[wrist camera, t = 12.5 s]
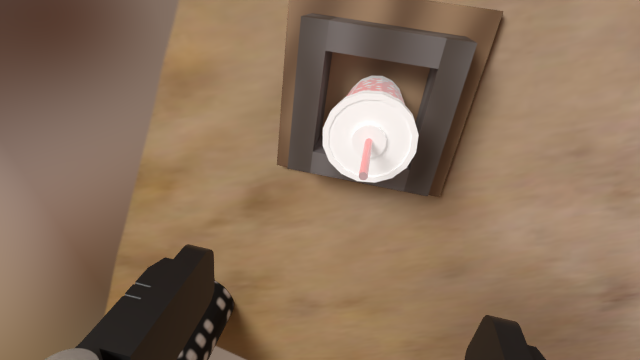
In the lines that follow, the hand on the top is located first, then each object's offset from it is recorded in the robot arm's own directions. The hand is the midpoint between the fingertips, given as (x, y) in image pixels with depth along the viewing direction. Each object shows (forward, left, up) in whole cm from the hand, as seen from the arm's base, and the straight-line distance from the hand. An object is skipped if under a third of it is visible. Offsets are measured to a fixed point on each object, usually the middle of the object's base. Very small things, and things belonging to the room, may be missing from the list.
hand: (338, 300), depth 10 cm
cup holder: (0, 0, -24) cm, 24 cm away
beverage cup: (0, 0, -23) cm, 23 cm away
